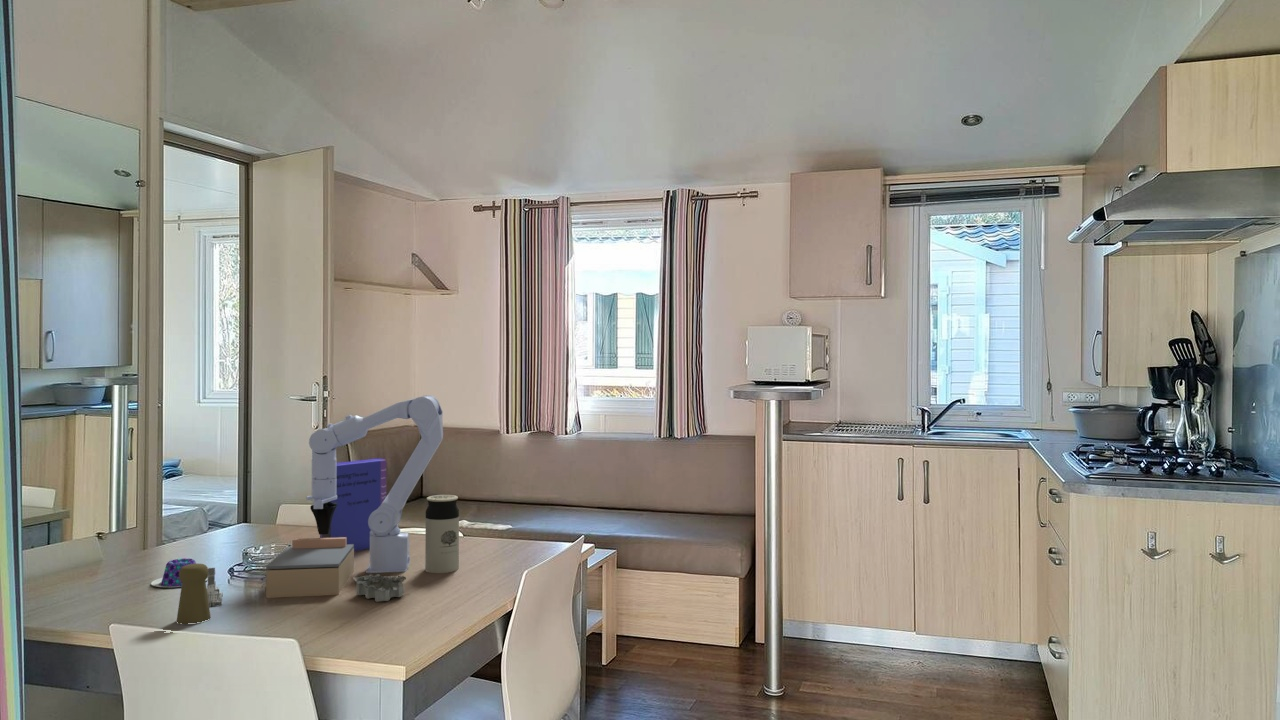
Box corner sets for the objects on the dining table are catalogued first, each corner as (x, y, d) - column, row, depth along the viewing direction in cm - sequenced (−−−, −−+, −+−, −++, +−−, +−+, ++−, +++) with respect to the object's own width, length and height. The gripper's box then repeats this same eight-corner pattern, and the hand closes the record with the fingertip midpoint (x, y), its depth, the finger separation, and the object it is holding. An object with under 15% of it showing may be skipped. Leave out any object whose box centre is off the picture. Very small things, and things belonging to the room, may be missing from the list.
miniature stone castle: (178, 600, 184) (178, 565, 184) (223, 596, 187) (223, 561, 187) (174, 612, 175) (174, 575, 175) (221, 607, 179) (222, 570, 179)
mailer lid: (353, 546, 207) (353, 536, 207) (338, 566, 187) (338, 554, 187) (288, 548, 204) (288, 537, 204) (266, 569, 185) (266, 557, 185)
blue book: (375, 543, 239) (375, 458, 239) (386, 546, 236) (386, 459, 236) (319, 555, 225) (320, 464, 225) (330, 557, 222) (331, 465, 222)
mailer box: (353, 572, 207) (353, 548, 207) (338, 595, 187) (338, 568, 187) (288, 575, 204) (288, 550, 204) (266, 598, 185) (266, 570, 185)
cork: (184, 615, 172) (184, 561, 172) (215, 615, 172) (215, 560, 172) (170, 625, 166) (170, 568, 166) (203, 624, 166) (203, 568, 166)
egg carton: (408, 595, 185) (408, 576, 185) (378, 604, 179) (377, 585, 179) (381, 584, 192) (381, 566, 192) (351, 593, 186) (350, 574, 186)
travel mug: (422, 568, 211) (422, 495, 211) (454, 565, 215) (455, 493, 215) (428, 576, 204) (429, 500, 204) (462, 572, 207) (462, 498, 207)
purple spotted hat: (143, 583, 197) (143, 561, 197) (198, 574, 206) (198, 552, 206) (161, 593, 189) (161, 569, 189) (218, 583, 198) (218, 560, 198)
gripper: (313, 474, 215) (313, 528, 215) (300, 482, 201) (299, 540, 201) (342, 473, 216) (342, 527, 216) (331, 482, 202) (331, 539, 202)
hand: (323, 533), depth 209 cm, fingers closed
